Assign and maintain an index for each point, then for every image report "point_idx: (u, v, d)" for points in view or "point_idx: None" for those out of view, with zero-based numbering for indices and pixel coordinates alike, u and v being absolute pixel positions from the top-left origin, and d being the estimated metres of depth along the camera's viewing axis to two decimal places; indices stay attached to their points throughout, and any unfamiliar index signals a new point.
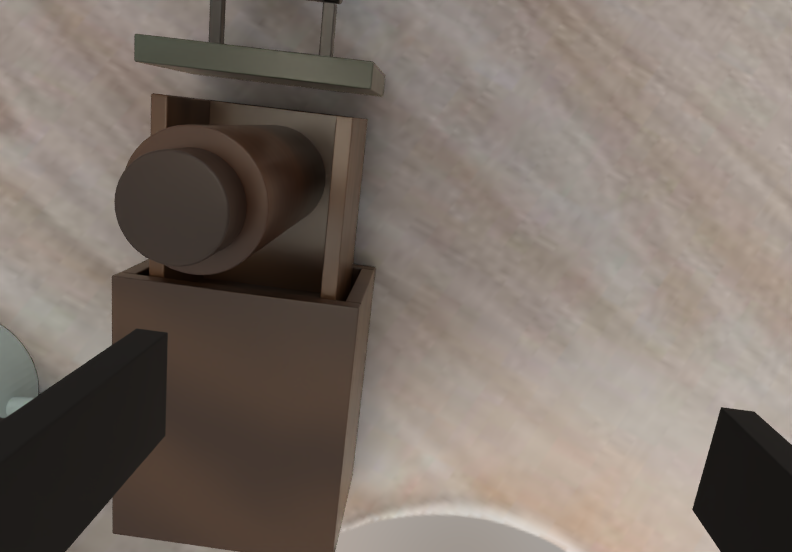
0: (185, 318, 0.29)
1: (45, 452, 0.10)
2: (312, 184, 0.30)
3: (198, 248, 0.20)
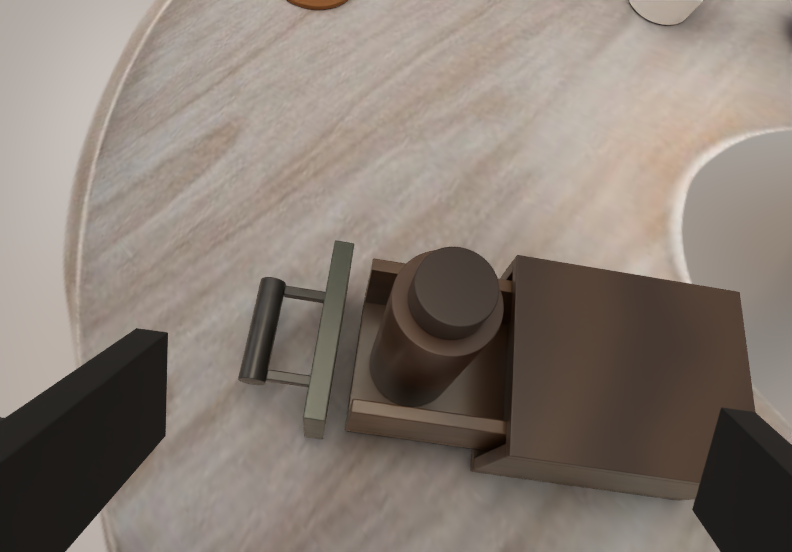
0: (541, 392, 0.33)
1: (45, 452, 0.10)
2: None
3: (484, 270, 0.28)
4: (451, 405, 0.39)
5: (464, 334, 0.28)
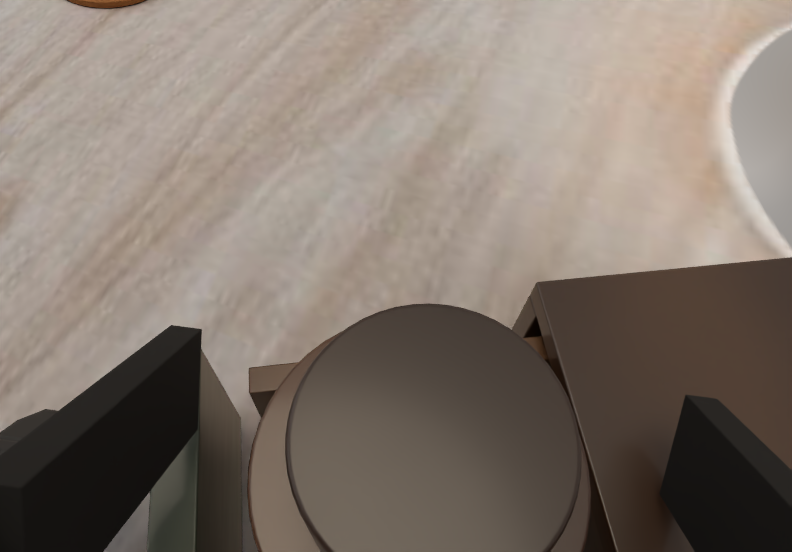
0: None
1: (99, 442, 0.10)
2: None
3: (505, 355, 0.09)
4: None
5: None
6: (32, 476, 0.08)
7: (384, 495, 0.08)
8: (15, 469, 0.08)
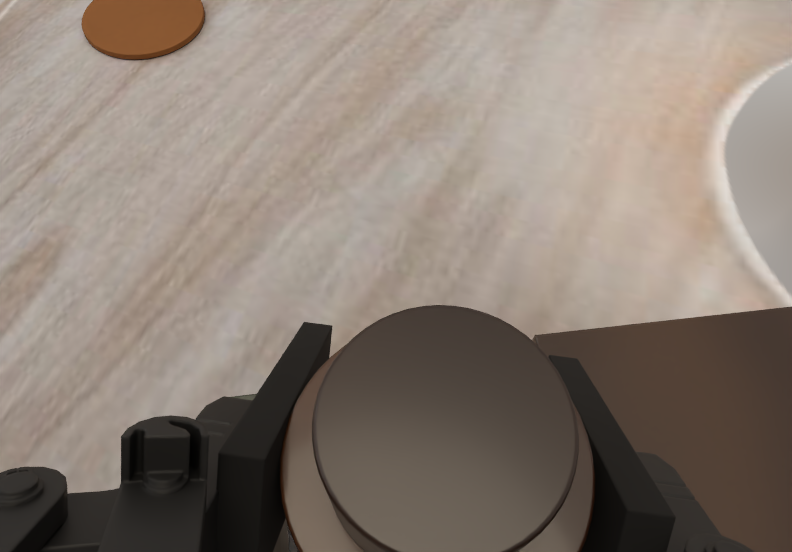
0: None
1: None
2: None
3: (508, 349, 0.10)
4: None
5: None
6: (268, 450, 0.10)
7: (400, 474, 0.08)
8: (250, 445, 0.10)
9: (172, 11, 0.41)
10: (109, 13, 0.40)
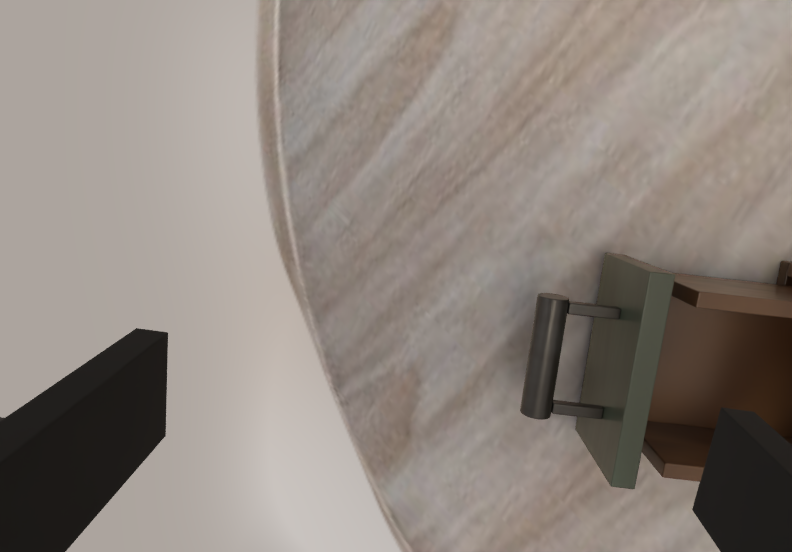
0: None
1: (45, 452, 0.10)
2: None
3: None
4: (746, 405, 0.34)
5: None
6: None
7: None
8: None
9: None
10: None
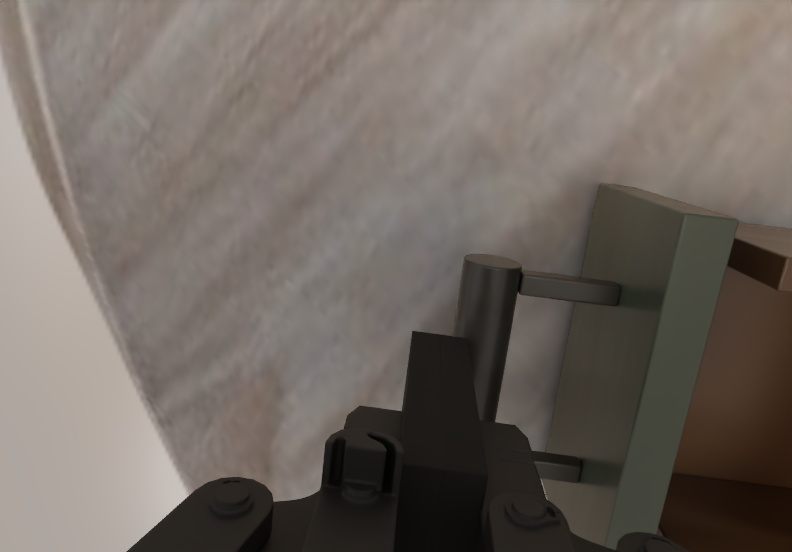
0: None
1: None
2: None
3: None
4: None
5: None
6: (443, 460, 0.10)
7: None
8: (424, 455, 0.10)
9: None
10: None
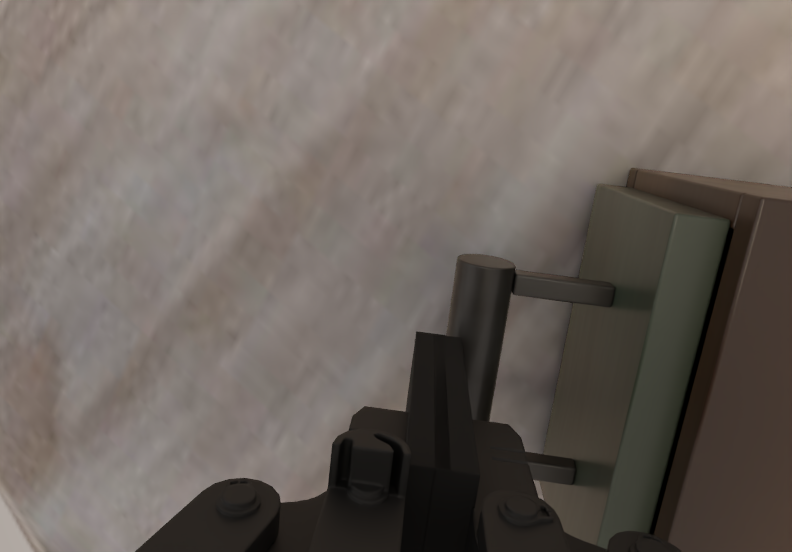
0: None
1: None
2: None
3: None
4: None
5: None
6: (450, 461, 0.10)
7: None
8: (431, 455, 0.10)
9: None
10: None
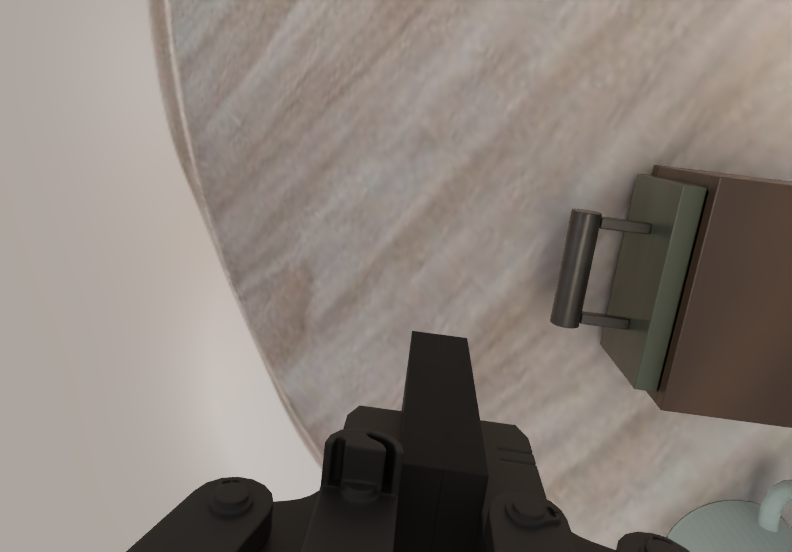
0: (711, 348, 0.30)
1: None
2: None
3: None
4: None
5: None
6: (443, 460, 0.10)
7: None
8: (424, 455, 0.10)
9: None
10: None
